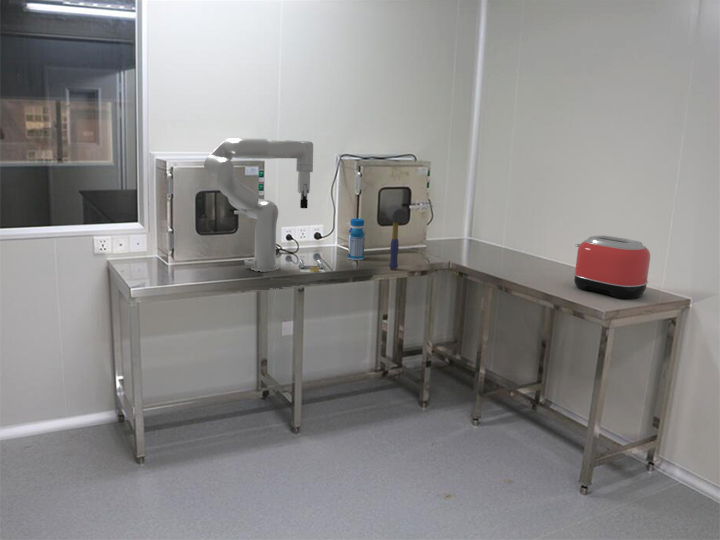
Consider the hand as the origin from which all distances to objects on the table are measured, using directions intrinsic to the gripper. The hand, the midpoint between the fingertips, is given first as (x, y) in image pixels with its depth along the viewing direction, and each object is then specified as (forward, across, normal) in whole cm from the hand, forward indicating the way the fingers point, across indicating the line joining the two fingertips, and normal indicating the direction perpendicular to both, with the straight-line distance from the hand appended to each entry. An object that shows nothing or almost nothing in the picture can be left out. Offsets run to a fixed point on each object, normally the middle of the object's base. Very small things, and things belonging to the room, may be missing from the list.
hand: (303, 208), depth 306 cm
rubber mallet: (+27, +10, +42) cm, 51 cm away
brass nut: (+26, +16, +4) cm, 31 cm away
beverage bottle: (+27, -14, +28) cm, 42 cm away
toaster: (+27, +52, +127) cm, 140 cm away
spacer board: (+27, +12, +3) cm, 30 cm away
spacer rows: (+27, +9, +3) cm, 28 cm away
